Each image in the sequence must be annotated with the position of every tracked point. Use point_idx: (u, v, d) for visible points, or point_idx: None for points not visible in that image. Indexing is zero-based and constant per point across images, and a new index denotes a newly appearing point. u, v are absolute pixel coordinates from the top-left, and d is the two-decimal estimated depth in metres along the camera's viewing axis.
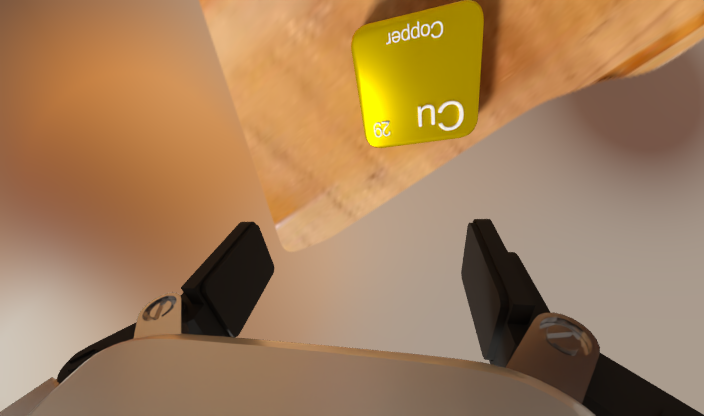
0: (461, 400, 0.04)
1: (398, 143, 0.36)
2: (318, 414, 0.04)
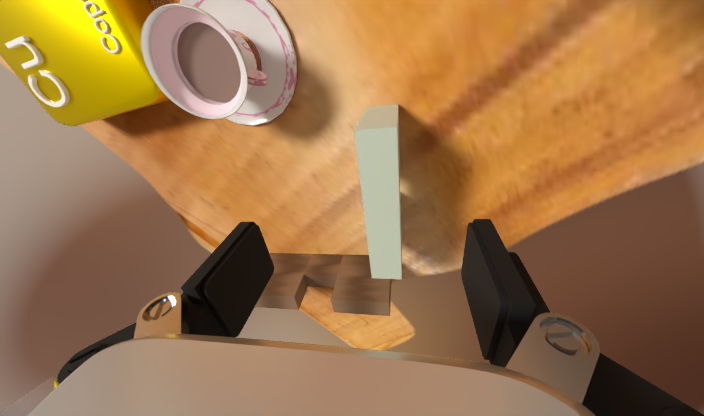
0: (460, 400, 0.04)
1: None
2: (318, 414, 0.04)
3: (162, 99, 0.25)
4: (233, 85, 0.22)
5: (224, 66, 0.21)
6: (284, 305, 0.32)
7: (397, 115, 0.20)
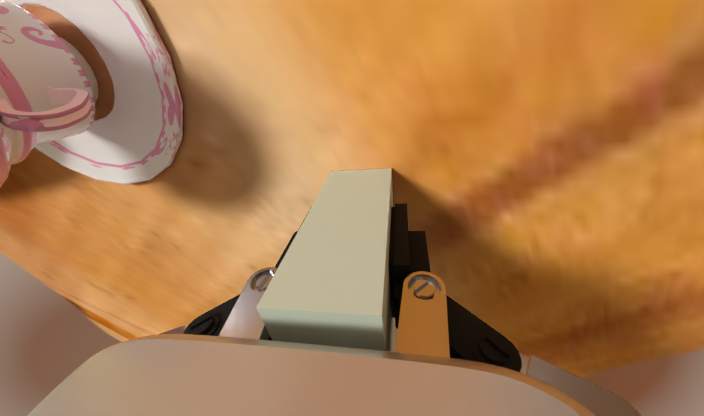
0: (461, 400, 0.04)
1: None
2: (318, 414, 0.04)
3: None
4: None
5: None
6: None
7: (387, 224, 0.08)
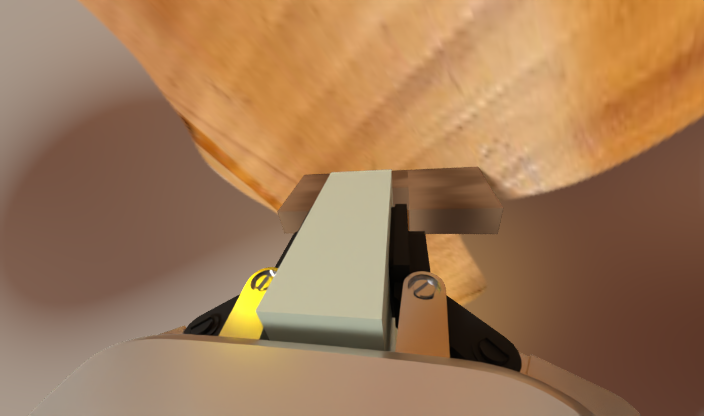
0: (461, 400, 0.04)
1: None
2: (318, 414, 0.04)
3: None
4: None
5: None
6: None
7: (387, 227, 0.08)
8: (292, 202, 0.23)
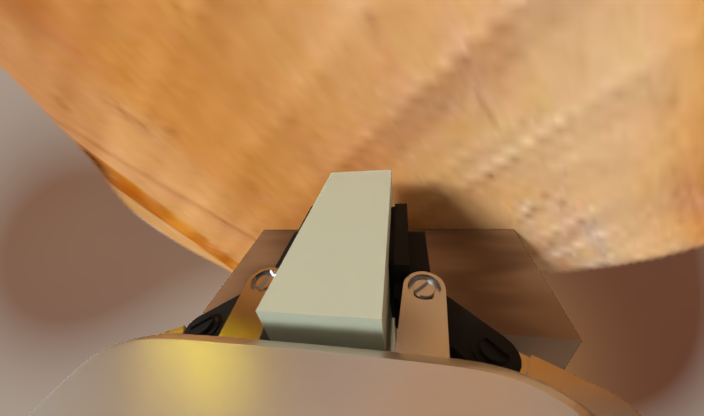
0: (461, 400, 0.04)
1: None
2: (318, 414, 0.04)
3: None
4: None
5: None
6: None
7: (387, 227, 0.08)
8: (231, 290, 0.15)
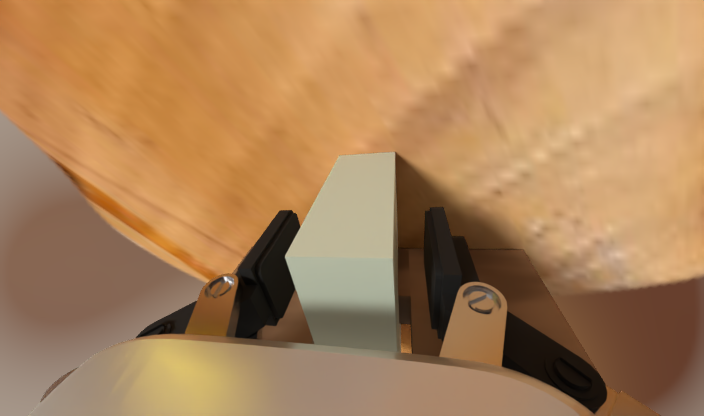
0: (461, 400, 0.04)
1: None
2: (318, 414, 0.04)
3: None
4: None
5: None
6: None
7: (393, 195, 0.09)
8: None
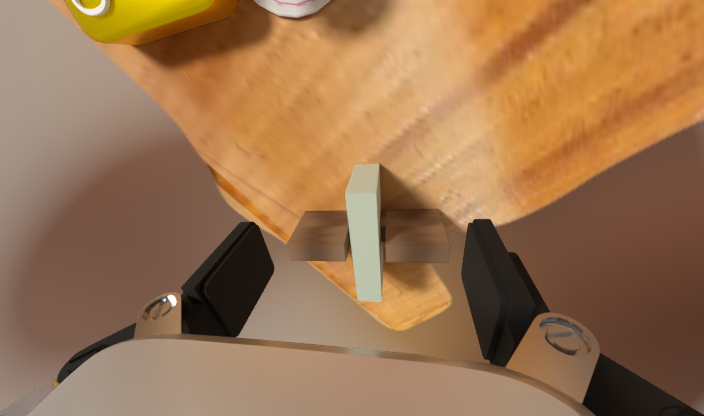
0: (461, 400, 0.04)
1: None
2: (318, 414, 0.04)
3: (215, 8, 0.23)
4: None
5: None
6: (330, 257, 0.29)
7: (377, 178, 0.27)
8: (297, 236, 0.30)
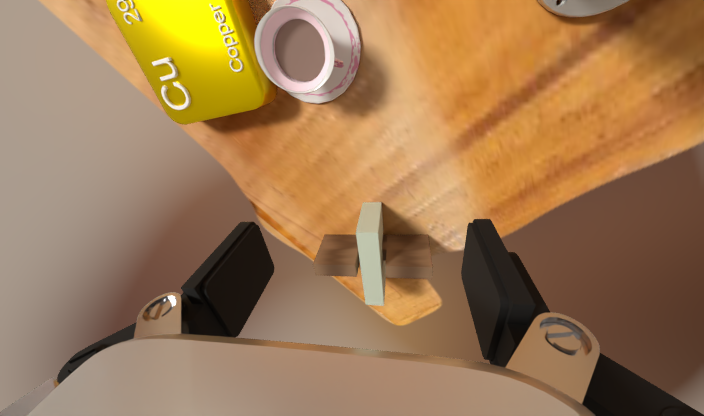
0: (461, 400, 0.04)
1: (126, 38, 0.30)
2: (318, 414, 0.04)
3: (262, 105, 0.32)
4: (316, 67, 0.28)
5: (311, 53, 0.27)
6: (345, 273, 0.40)
7: (379, 218, 0.37)
8: (320, 257, 0.41)
